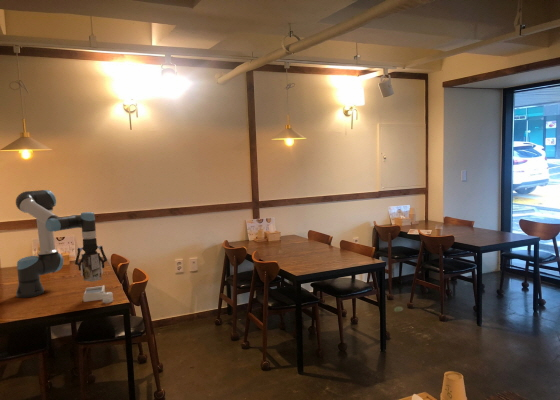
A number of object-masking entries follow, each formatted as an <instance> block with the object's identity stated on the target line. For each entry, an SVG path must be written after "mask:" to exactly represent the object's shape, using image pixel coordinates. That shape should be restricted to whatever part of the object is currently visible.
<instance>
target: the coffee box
mask: <svg viewBox="0 0 560 400" xmlns="http://www.w3.org/2000/svg"><path fill="white" fill-rule="evenodd" d="M80 255H81V258H82V257H83V255H84V253H80ZM100 256H101V252H100V253H99V252H98V253H96V254H95V253H93V254H91V253H90V254H86V255H85V257H84V259H83V261H82V263H81V265H82V266H83V276H82V277H83V281H84V282H96V281H101V280H102V279H103V278H102V274H101V264H100V263H101V261H100Z"/></svg>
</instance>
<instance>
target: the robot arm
mask: <svg viewBox="0 0 560 400" xmlns="http://www.w3.org/2000/svg"><path fill="white" fill-rule="evenodd" d="M56 204H57V199H56V196H55V194H54V192H52V191H51V190H49V189H48V190H47V189H40V190H39V189H38V190H26V191H23V192H21V193H19V194H18V195H17V197H16V198H15V206H16V208H17V209H18V210H19V211H21V212H22V213H26V214H29V215H30V216H32V217H33V218H34V219H36V220H35V221H36V225H37V234H38V243H39V252H38V253H37V255H30V256H28V255H27V256H25V257H22V258H20V259H18V260H17V262H16V271H17V279H18V280H17V281H18V285H17V289H16V291H15V295H16V296H15V297H16V298H19V299H22V298H25V299H26V298H33V297H38V296H40V295H43V294H44V293H45V289H44V286H43V284H42V281H41V279H40V278H41V277H40V276H43V275H48V274H51V273H52V274H53V273H56V272H59V271H60V270H61V269H62V268H63V265H64V257H63V255H62V253H59V250H57V249H56V245H55V237H54V232H59V231H60V232H61V231H65V230H70V229H71V230H72V229H79V228H80V229H81V234H82V247H77V254H76V258H75V261H74V265H77V266H78V271H80V276H81V277H83V266H82V261H83V259H84V257H85V255H86V254H90V253H91V254H93V253H95V254H96V253H99V252H98V251H97V250H99V251H100V254H101V255H100V264H101V275H103V273H104V271H103V270H104V268H105V263H106V262H107V261H108V259H107V257H106V256H107V255H106V253H105V251H104V249H103V245H98V242H97V241H98V240H97V231H96V229H97V227H96V217H95V212H92V211H85V212H81V213H80V215H79V214H72V215H70V216H62V217H60V216H58V215H56V214H55V213H53V211H54V207H55V206H56ZM82 251H83V252H84V253H83V254H84V255H83V257H82V256H81V259H80V255H81V252H82ZM101 256H102V257H101Z"/></svg>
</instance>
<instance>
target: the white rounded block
mask: <svg viewBox="0 0 560 400" xmlns="http://www.w3.org/2000/svg"><path fill="white" fill-rule="evenodd" d="M113 296H114V295H113V292H112V291H107V292H106V291H105V293H103V294H102V300H101V301H102V304H110V303H113V302H114V297H113Z"/></svg>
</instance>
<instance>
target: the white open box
mask: <svg viewBox="0 0 560 400" xmlns="http://www.w3.org/2000/svg"><path fill="white" fill-rule="evenodd" d="M105 292H106V288H105V284H104V285H100V286H93V287H86V288H85V291H84V292H83V296H82V298H83V299H82V301H83V302H84V303H85V302H86V303H87V302H93V301H103V300H102V294H103V293H105Z"/></svg>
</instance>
